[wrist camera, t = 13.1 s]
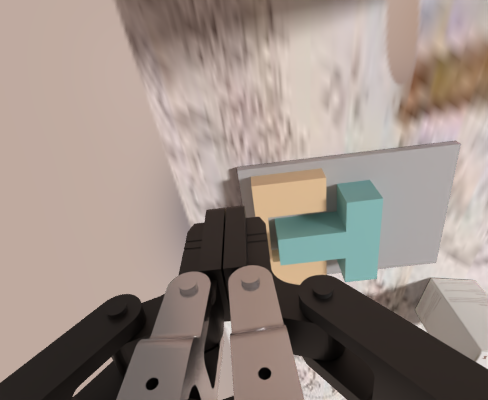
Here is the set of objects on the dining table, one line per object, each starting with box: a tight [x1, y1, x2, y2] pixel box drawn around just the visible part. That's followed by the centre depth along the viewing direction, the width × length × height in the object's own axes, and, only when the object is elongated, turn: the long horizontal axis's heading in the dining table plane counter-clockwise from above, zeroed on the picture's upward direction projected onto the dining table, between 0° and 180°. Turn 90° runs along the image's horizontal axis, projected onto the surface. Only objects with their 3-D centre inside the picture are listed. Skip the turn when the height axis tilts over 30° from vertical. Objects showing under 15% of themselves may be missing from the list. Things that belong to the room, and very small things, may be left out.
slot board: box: [237, 141, 461, 285], centre depth 44 cm, size 26×18×4 cm
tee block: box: [275, 180, 383, 282], centre depth 44 cm, size 12×12×4 cm
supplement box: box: [415, 278, 488, 369], centre depth 48 cm, size 7×7×13 cm
